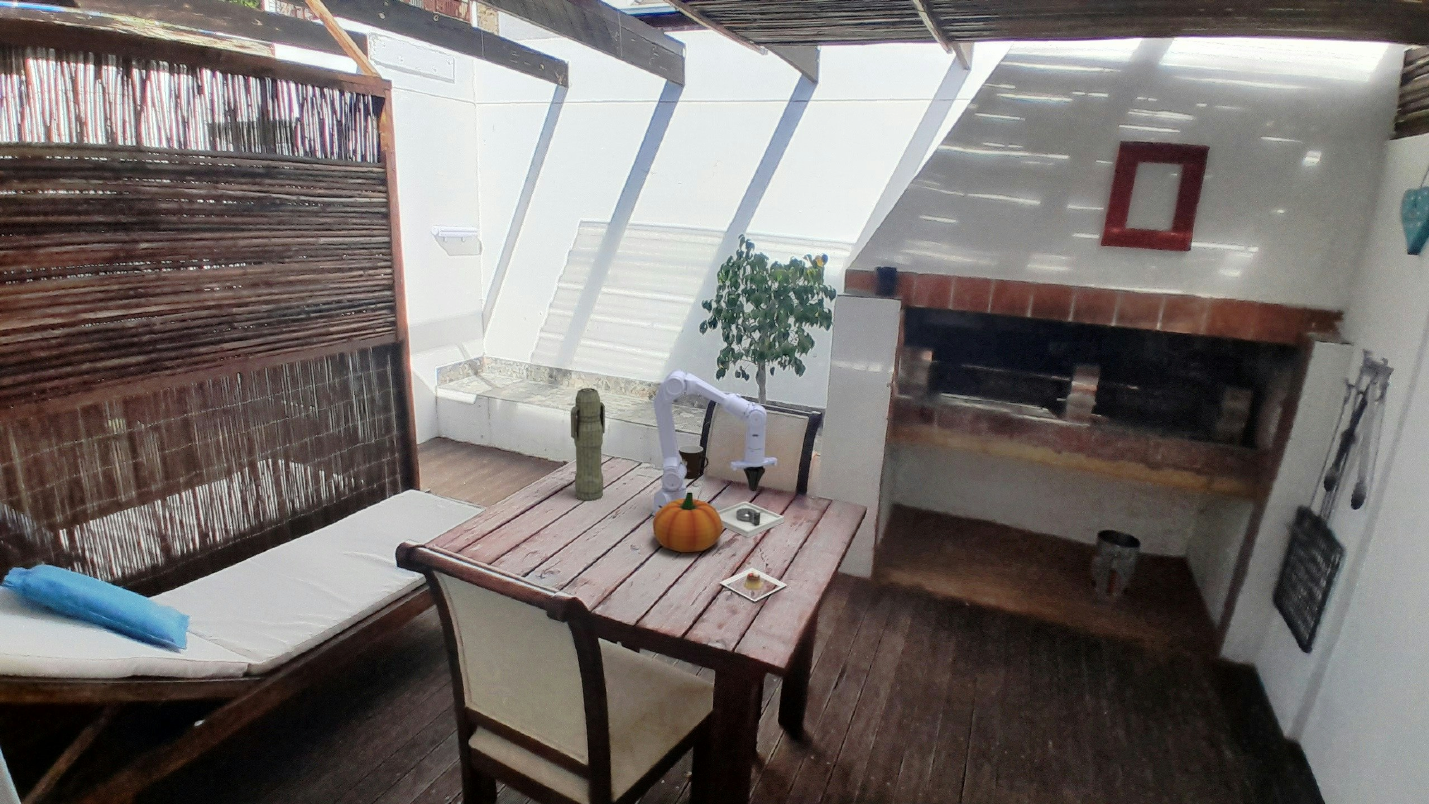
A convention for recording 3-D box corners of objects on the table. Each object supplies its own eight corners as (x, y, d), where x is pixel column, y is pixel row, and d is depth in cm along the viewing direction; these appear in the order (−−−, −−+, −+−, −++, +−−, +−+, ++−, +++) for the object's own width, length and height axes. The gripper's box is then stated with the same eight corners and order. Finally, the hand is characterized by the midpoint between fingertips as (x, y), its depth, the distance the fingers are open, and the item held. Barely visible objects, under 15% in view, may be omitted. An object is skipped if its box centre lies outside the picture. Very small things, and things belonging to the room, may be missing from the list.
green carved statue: (565, 497, 229) (563, 390, 220) (593, 487, 238) (592, 384, 229) (584, 504, 223) (582, 395, 215) (612, 494, 232) (611, 389, 224)
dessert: (718, 586, 177) (719, 569, 176) (751, 571, 185) (752, 554, 184) (754, 605, 169) (755, 587, 168) (787, 588, 177) (788, 571, 176)
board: (747, 537, 204) (747, 531, 203) (708, 520, 215) (708, 514, 214) (783, 522, 215) (784, 516, 214) (744, 506, 226) (745, 501, 225)
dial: (732, 514, 215) (733, 504, 215) (749, 511, 218) (750, 501, 218) (749, 526, 207) (749, 516, 206) (767, 523, 210) (767, 513, 209)
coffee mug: (674, 473, 253) (674, 446, 250) (696, 470, 257) (697, 443, 254) (686, 484, 243) (687, 456, 240) (709, 481, 246) (710, 453, 244)
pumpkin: (677, 522, 212) (678, 475, 209) (734, 538, 203) (736, 489, 199) (638, 546, 196) (638, 495, 193) (697, 565, 187) (699, 511, 183)
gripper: (770, 440, 217) (767, 482, 220) (726, 444, 211) (725, 488, 214) (781, 447, 211) (779, 490, 214) (737, 452, 205) (735, 496, 208)
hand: (752, 490), depth 214 cm, fingers closed
